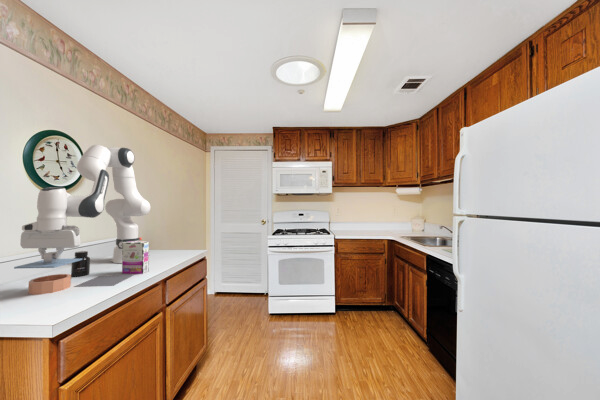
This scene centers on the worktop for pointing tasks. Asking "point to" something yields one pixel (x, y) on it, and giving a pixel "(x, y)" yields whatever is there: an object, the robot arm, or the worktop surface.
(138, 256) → the candy bar box
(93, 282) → the mat
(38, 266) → the cover sheet
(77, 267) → the supplement bottle
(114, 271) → the worktop surface
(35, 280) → the bowl
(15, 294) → the worktop surface
